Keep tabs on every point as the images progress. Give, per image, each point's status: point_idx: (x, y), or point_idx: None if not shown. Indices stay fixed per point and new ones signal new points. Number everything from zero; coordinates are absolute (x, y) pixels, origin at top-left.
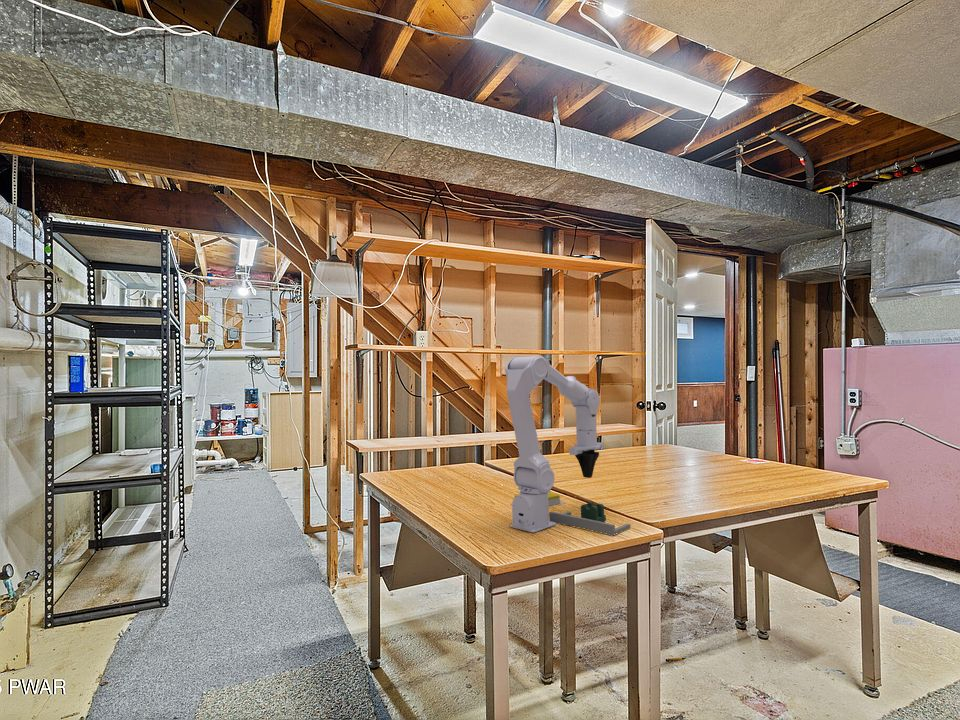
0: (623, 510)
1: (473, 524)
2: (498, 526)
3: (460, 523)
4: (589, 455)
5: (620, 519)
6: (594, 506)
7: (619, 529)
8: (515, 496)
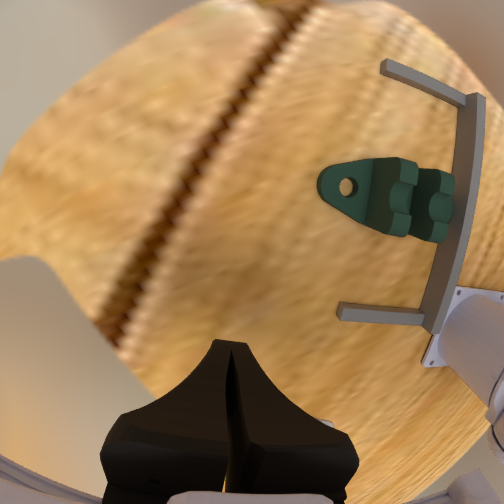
0: (153, 156)
1: (466, 416)
2: None
3: (462, 432)
4: (356, 454)
5: (296, 116)
6: (447, 182)
7: (445, 84)
8: None
